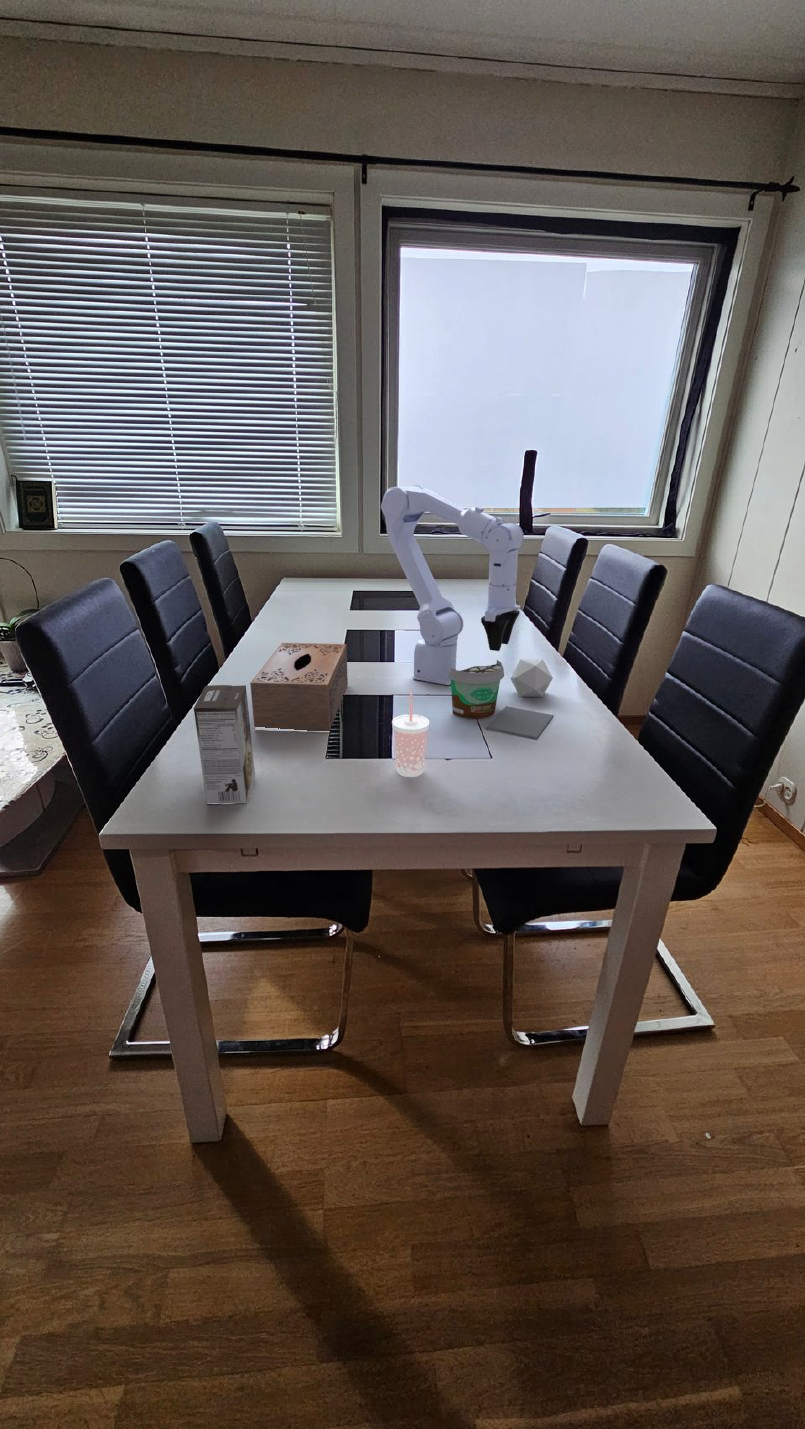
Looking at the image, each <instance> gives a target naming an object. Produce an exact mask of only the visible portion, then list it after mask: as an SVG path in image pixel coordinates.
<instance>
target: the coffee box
mask: <svg viewBox="0 0 805 1429" xmlns="http://www.w3.org/2000/svg"><path fill="white" fill-rule="evenodd" d="M247 693H248V692H247V685H245V684H244V685H231V684H219V685H218V684H215V685H214V684H213V685H205V686H204V688H203V689H202V691H201V694H200V695H199V697H198V700H197V701H196V703H195V705H194V706H193V713H194V720H195V727H196V728H195V729H196V735H197V736H196V737H197V742H198V743H197V744H198V751H199V757H200V764H201V772H202V773H201V774H202V780H203V788H204V793H205V794H204V795H205V801H206V804H207V803H246V804H248V803H249V800H248V799H250V796H251V792H252V788H251V787H253V785H252V784H254V781H255V776H256V771H255V769H256V768H255V761H254V760H255V759H254V752H253V751H254V750H253V742H252V733H251V721H250V712H249V705H248V704H249V701H248V694H247ZM253 780H254V781H253ZM249 795H250V796H249ZM247 802H248V803H247Z"/></svg>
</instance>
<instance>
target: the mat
mask: <svg viewBox="0 0 805 1429" xmlns="http://www.w3.org/2000/svg"><path fill="white" fill-rule="evenodd" d="M553 718H554V715H553V714H550V713H545V712H540V711H535V710H530V709H523V708H519V707H512V706H508V705H506V706H504V707H503V708H502V710H501V711H500V712H499V713H498V714H497V715H496V716H495V717H494V718H493V719H492V720H491V721H490V722H489V723H488V724H487V725H486V726H485V729H486V730H491V731H493V732H494V731H495V732H500V733H504V734H508V735H509V734H510V735H515V736H519V737H523V738H524V737H525V738H527V739H534V740H537V739H538V738H539V737H540V735H541V734H542V733H543V731H544V730H545V729H546V727H547V726H548V724H549V723H550V722H551V721H552V719H553Z"/></svg>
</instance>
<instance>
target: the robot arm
mask: <svg viewBox="0 0 805 1429" xmlns="http://www.w3.org/2000/svg"><path fill="white" fill-rule="evenodd" d="M380 509H381V512H382V514H383V516H384V519H385V526H386V527H385V528H386V534H387V538H388V540H389V542H390V544H391V547H392V549H393V551H394V554H395V556H396V558H397V560H398V562H399V564H400V567H401V569H402V571H403V572H404V575H405V577H406V580H407V582H408V584H409V586H410V588H411V591H412V592H413V594H414V596H415V599H416V601H417V603H418V605H419V611H418V612H417V616H416V619H417V622H418V624H419V633H420V635H421V638H419V640H417V642H416V644H415V648H414V652H413V654H414V655H413V676H412V679H414V680H419V681H422V682H429V683H434V684H438V685H439V684H440V685H445V686H451V679H449V678H448V675H449V671H450V668H452V669H455V670H457V656H458V655H457V651H458V638H459V637H458V636H459V635H460V633H461V632H462V631H463V628H464V619H463V617H462V615H461V613H460V612H458V611H457V610H456V609H455V608H454V605H453V603H452V602H451V601H450V600H448V599H446V598H445V597H444V596H443V595H442V594H441V591H440V588H439V587H438V585H437V583H436V580H435V578H434V576H433V573H432V572H431V570H430V567H429V565H428V563H427V561H426V559H425V556H424V554H423V552H422V549H421V548H420V546H419V544H418V541H417V539H416V537H415V535H414V534H415V533H414V532H415V529H416V526H417V525H418V523H419V522H420V520H421V519H422V517H423V515H424V514H425V513H427V512H428V513H429V514H432V515H435V516H437V517H439V518H442V519H443V520H446V521H448V522H451V523H453V524H455V525H457V526H458V531H459V532H460V534H462V535H464V536H466V537H468V538H470V539H472V540H474V541H476V542H478V543H479V544H482V545H483V546H485V548H486V549H487V551H488V553H489V554H488V555H489V565H488V566H489V569H488V590H487V593H488V594H487V604H486V610H485V611H484V616H482V617H480V623H481V624H482V626H483V628H484V630H485V635H486V638H487V643H488V648H489V650H490V651H492V652H493V651H495V652H500V651H501V649H502V648H501V647H502V645H509V642H510V640H511V636H512V632H513V629H514V625H515V623H516V621H517V619H518V617H519V616H520V610H521V605H519V604H517V597H516V595H517V578H518V577H517V576H518V558H519V549H520V548H521V546H522V545H523V543H524V538H525V535H524V532H523V529H522V528H521V526H519V525H518V524H517V523H516V522H514V521H508V522H504V521H503V520H504V518H502V517H499V516H497V517H495V516H493V515H491V514H488V513H487V512H484V510H485V508H483V507H482V506H476V507H474V506H473V507H472V506H471V507H468V508H467V509H464V508H463V507H461V506H459V505H457V504H456V503H454V502H451V501H450V500H448V499H446V498H444V496H441V495H439V494H437V493H436V492H434V491H433V490H431V488H424V487H423V486H422V485H419V484H416V485H415V484H414V485H412V486H411V485H410V486H392V487H389V488H388V489H387V490H386V491H385V492H384V495H383V498H382V501H381V504H380Z"/></svg>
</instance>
